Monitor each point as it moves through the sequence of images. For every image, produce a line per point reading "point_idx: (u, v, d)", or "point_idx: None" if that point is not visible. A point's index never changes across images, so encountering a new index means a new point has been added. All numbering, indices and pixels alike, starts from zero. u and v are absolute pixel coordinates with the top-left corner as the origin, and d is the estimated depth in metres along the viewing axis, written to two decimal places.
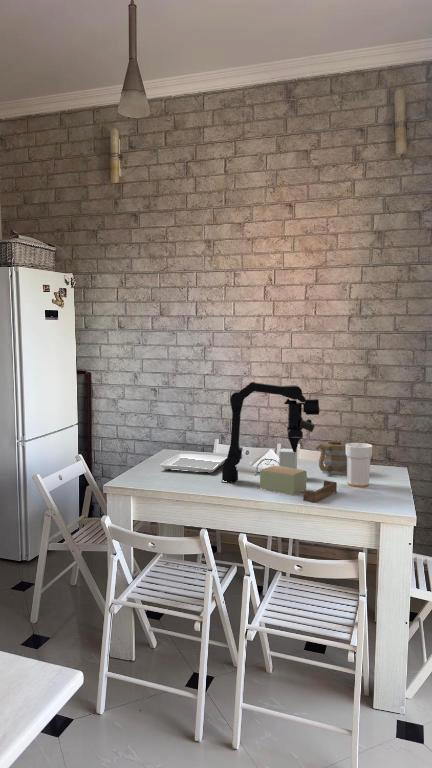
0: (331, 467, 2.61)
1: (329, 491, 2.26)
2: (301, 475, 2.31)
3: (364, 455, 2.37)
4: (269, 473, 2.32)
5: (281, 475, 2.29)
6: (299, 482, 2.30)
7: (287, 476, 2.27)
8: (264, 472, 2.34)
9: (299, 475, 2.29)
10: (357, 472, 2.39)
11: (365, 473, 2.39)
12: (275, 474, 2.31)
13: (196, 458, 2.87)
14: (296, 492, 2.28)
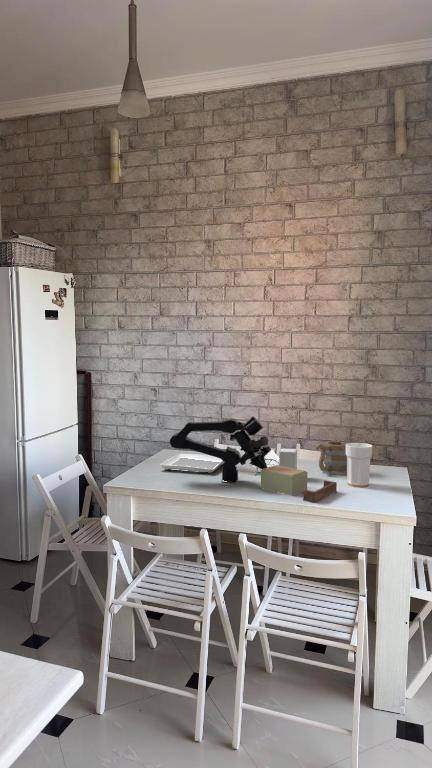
0: (331, 467, 2.61)
1: (329, 491, 2.26)
2: (301, 475, 2.30)
3: (364, 455, 2.37)
4: (269, 473, 2.33)
5: (280, 475, 2.29)
6: (298, 483, 2.29)
7: (286, 476, 2.27)
8: (264, 471, 2.35)
9: (298, 475, 2.29)
10: (357, 472, 2.39)
11: (365, 473, 2.39)
12: (275, 474, 2.31)
13: (196, 458, 2.87)
14: (295, 492, 2.27)
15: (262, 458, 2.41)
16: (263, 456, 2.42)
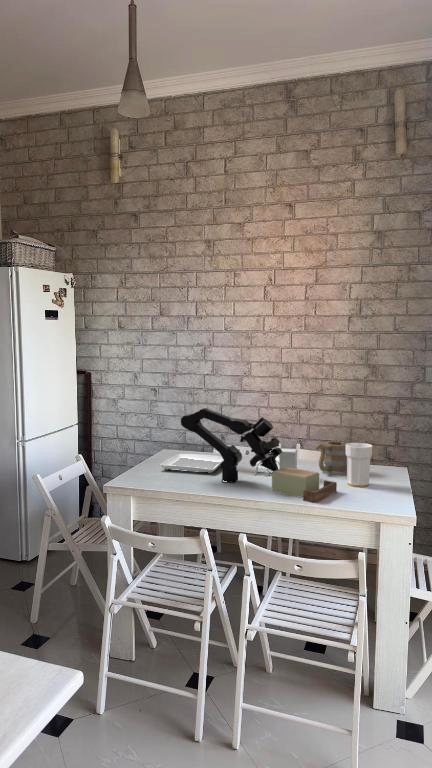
0: (331, 467, 2.61)
1: (329, 491, 2.26)
2: (313, 477, 2.27)
3: (364, 455, 2.37)
4: (281, 475, 2.29)
5: (293, 477, 2.26)
6: (311, 485, 2.26)
7: (299, 478, 2.24)
8: (276, 474, 2.31)
9: (311, 477, 2.26)
10: (357, 472, 2.39)
11: (365, 473, 2.39)
12: (287, 476, 2.27)
13: (196, 458, 2.87)
14: None
15: (273, 460, 2.38)
16: (274, 458, 2.39)
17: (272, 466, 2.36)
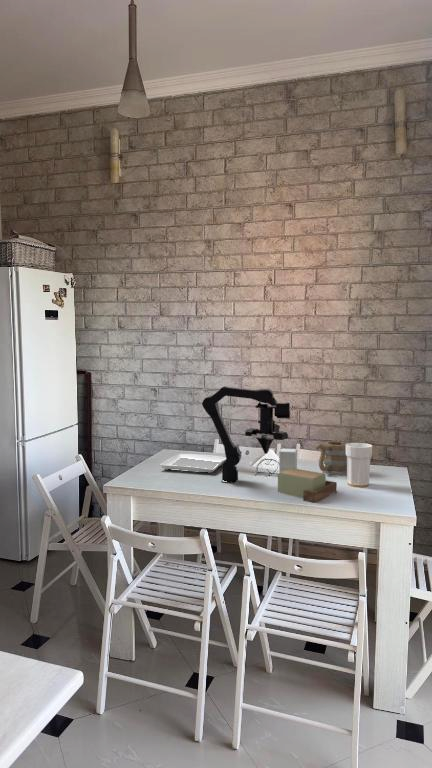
0: (331, 467, 2.61)
1: (329, 491, 2.26)
2: (320, 478, 2.26)
3: (364, 455, 2.37)
4: (287, 476, 2.27)
5: (300, 478, 2.24)
6: (318, 486, 2.24)
7: (306, 479, 2.22)
8: (282, 475, 2.29)
9: (318, 478, 2.24)
10: (357, 472, 2.39)
11: (365, 473, 2.39)
12: (293, 477, 2.26)
13: (196, 458, 2.87)
14: None
15: None
16: None
17: (269, 446, 2.44)
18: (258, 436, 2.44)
